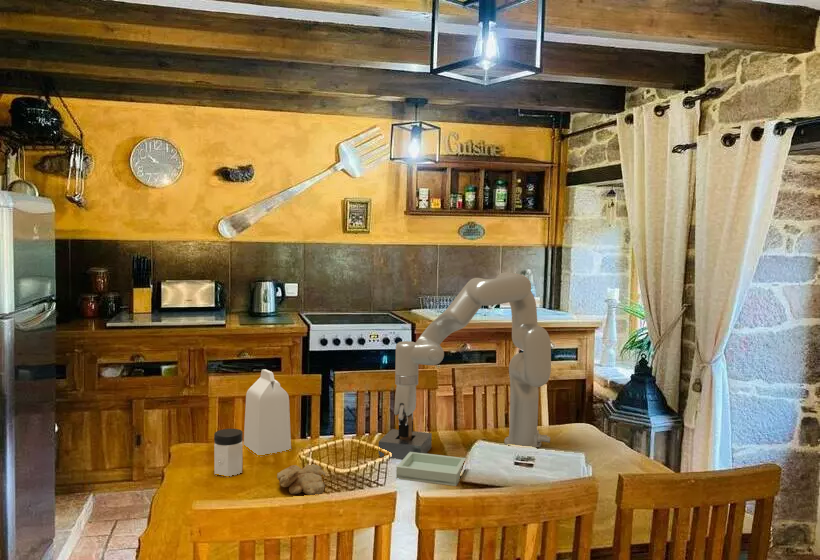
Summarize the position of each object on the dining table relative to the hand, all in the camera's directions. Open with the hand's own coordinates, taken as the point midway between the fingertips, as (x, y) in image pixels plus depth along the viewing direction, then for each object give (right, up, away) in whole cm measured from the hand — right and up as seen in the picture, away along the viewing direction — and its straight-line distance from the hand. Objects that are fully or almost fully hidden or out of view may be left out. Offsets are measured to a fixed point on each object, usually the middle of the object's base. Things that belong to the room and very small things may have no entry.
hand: (405, 433), depth 216 cm
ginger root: (-29, -8, -32) cm, 44 cm away
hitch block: (0, -6, 0) cm, 6 cm away
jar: (-53, -7, -20) cm, 57 cm away
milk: (-46, -5, +2) cm, 46 cm away
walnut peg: (0, -6, 0) cm, 6 cm away
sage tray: (+8, -8, -18) cm, 22 cm away
